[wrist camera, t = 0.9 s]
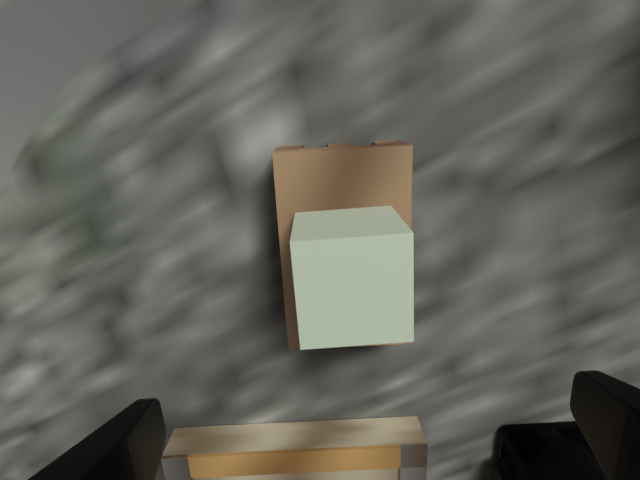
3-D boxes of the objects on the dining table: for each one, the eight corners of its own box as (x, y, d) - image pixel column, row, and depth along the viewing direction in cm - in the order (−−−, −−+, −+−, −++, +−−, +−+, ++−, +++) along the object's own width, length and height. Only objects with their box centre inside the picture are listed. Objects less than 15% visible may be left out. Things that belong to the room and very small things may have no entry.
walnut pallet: (397, 140, 19) (412, 145, 16) (396, 313, 22) (408, 344, 19) (278, 146, 19) (271, 152, 16) (291, 318, 22) (288, 349, 19)
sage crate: (391, 205, 17) (413, 232, 13) (392, 293, 18) (414, 341, 14) (294, 212, 17) (289, 241, 13) (303, 299, 18) (300, 349, 14)
